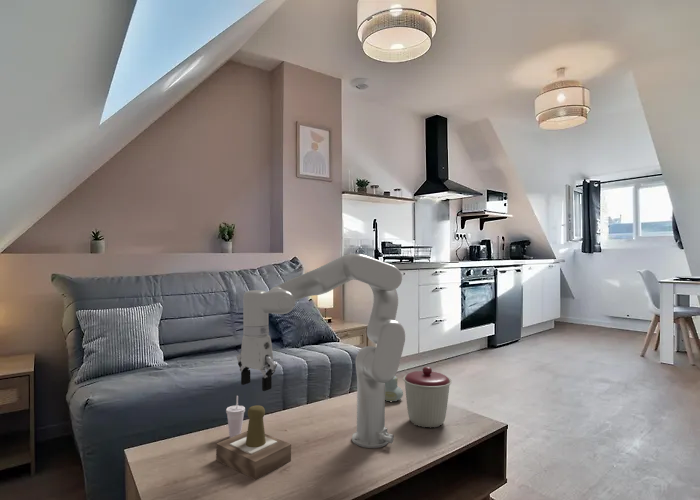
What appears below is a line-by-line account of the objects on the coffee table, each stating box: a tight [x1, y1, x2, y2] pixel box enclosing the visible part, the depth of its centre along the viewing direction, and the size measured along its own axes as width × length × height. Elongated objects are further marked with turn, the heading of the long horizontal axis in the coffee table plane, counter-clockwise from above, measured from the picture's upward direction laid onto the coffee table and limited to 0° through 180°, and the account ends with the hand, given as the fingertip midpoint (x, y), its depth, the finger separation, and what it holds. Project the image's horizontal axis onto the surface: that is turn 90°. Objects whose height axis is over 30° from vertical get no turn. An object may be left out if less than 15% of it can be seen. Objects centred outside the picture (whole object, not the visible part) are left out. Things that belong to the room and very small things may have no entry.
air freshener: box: [385, 375, 404, 402], centre depth 184 cm, size 11×8×10 cm
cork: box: [246, 405, 266, 447], centre depth 128 cm, size 6×6×11 cm
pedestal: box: [215, 430, 292, 481], centre depth 128 cm, size 18×14×5 cm
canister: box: [402, 366, 452, 429], centre depth 159 cm, size 18×18×21 cm
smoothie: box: [225, 395, 246, 438], centre depth 144 cm, size 6×6×14 cm
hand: (256, 386), depth 128 cm, fingers open, 9 cm apart
